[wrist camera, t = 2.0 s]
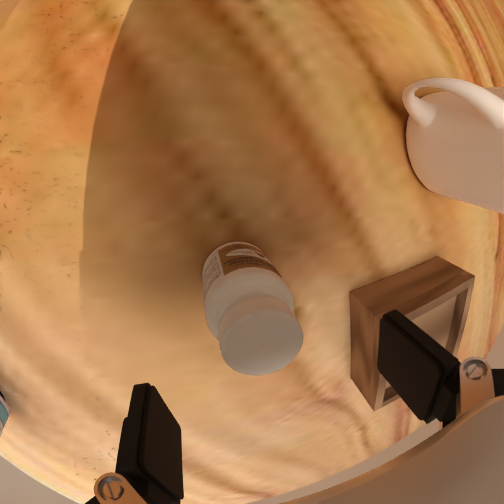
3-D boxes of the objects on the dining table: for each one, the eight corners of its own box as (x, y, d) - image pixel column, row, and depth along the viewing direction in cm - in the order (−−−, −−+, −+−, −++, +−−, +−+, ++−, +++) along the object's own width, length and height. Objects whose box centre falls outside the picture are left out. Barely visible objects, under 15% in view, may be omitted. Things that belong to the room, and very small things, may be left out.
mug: (382, 50, 15) (494, 14, 5) (470, 129, 18) (561, 140, 8) (353, 143, 17) (490, 149, 7) (449, 209, 20) (545, 245, 10)
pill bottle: (280, 253, 18) (333, 314, 11) (252, 310, 19) (284, 389, 12) (217, 229, 17) (234, 283, 10) (192, 290, 18) (193, 372, 11)
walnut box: (347, 290, 21) (384, 324, 16) (435, 255, 22) (474, 276, 17) (349, 375, 24) (374, 411, 19) (425, 337, 25) (453, 362, 20)
